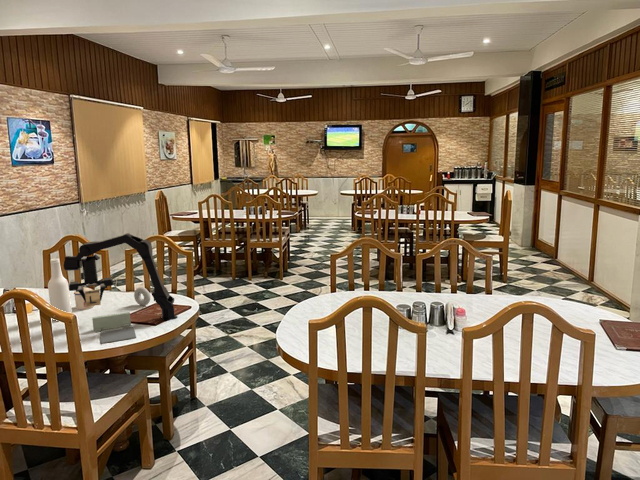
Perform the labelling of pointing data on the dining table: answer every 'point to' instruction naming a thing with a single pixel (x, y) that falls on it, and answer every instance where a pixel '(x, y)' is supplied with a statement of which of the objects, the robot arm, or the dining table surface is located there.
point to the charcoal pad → (117, 335)
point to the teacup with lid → (81, 300)
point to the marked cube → (92, 297)
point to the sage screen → (111, 321)
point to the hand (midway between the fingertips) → (93, 301)
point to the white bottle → (58, 288)
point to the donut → (145, 293)
